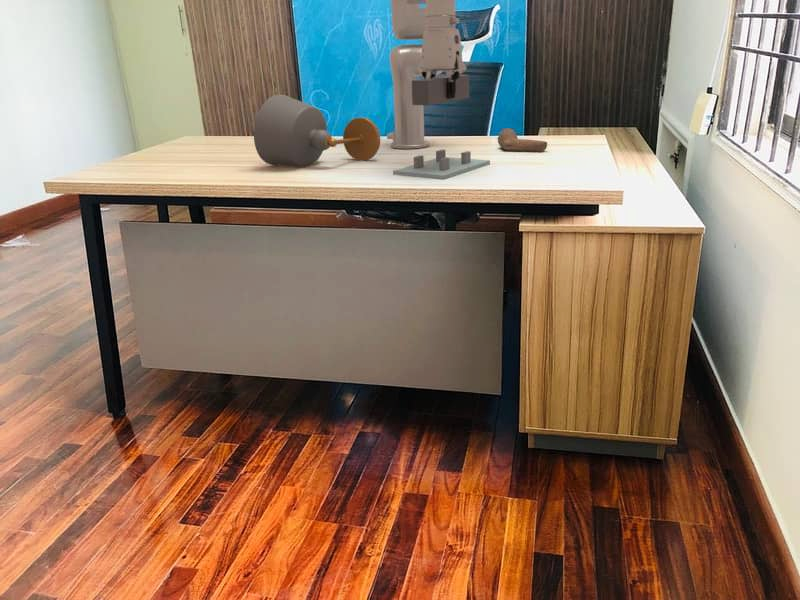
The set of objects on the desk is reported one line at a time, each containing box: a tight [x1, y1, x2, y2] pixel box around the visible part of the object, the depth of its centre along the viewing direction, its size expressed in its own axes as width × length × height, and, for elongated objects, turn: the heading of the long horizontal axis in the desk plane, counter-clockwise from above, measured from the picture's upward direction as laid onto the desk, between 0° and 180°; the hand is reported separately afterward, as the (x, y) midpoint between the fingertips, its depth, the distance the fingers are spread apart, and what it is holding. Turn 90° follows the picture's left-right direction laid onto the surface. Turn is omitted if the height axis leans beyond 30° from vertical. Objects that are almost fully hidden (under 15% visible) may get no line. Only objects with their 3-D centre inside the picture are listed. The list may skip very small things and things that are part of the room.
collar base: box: [392, 149, 491, 180], centre depth 190 cm, size 16×24×4 cm, turn 144°
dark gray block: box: [412, 74, 470, 106], centre depth 184 cm, size 20×5×6 cm, turn 144°
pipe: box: [497, 127, 548, 153], centre depth 216 cm, size 6×17×10 cm
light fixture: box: [253, 93, 381, 168], centre depth 201 cm, size 20×25×27 cm
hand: (441, 97), depth 184 cm, fingers closed on dark gray block, 5 cm apart
